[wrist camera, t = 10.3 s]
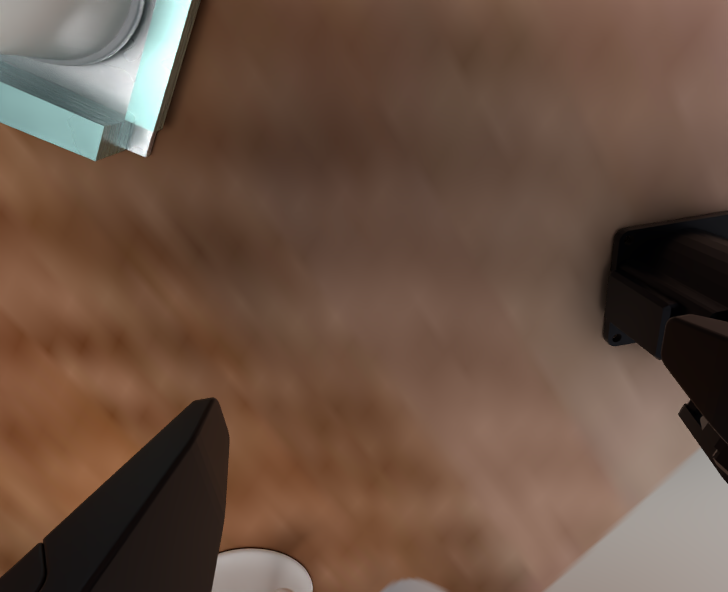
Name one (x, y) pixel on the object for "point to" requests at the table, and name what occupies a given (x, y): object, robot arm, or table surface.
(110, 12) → the white cylinder
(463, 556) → the table surface
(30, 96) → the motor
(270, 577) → the mug
